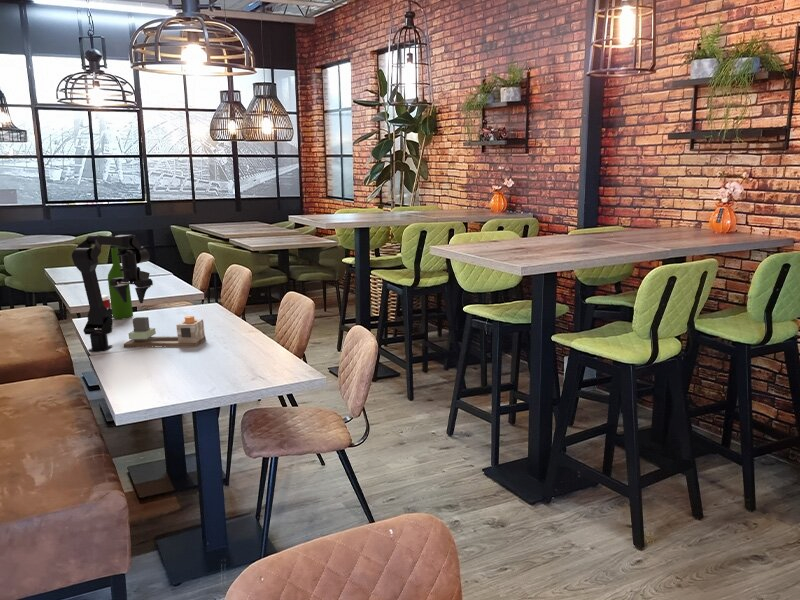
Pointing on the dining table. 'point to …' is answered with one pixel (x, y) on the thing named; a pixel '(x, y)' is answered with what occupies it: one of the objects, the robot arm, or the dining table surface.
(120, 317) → the wine bottle
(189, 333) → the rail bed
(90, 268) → the robot arm
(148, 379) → the dining table surface
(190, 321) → the button
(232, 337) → the dining table surface
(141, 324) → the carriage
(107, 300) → the paper cup
